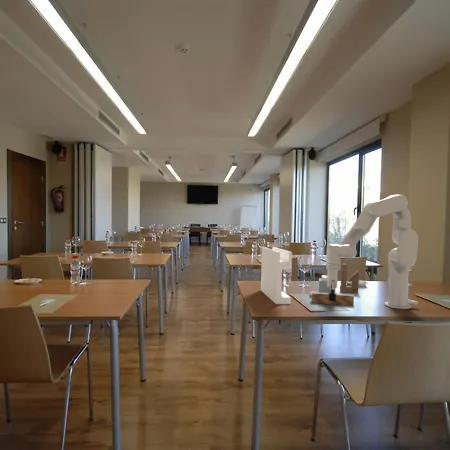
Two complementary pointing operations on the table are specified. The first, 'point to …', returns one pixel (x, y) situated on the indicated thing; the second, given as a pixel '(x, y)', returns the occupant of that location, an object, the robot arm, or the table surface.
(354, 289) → the wooden angled stand
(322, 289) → the stand
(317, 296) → the walnut beam
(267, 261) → the block
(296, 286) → the table surface
